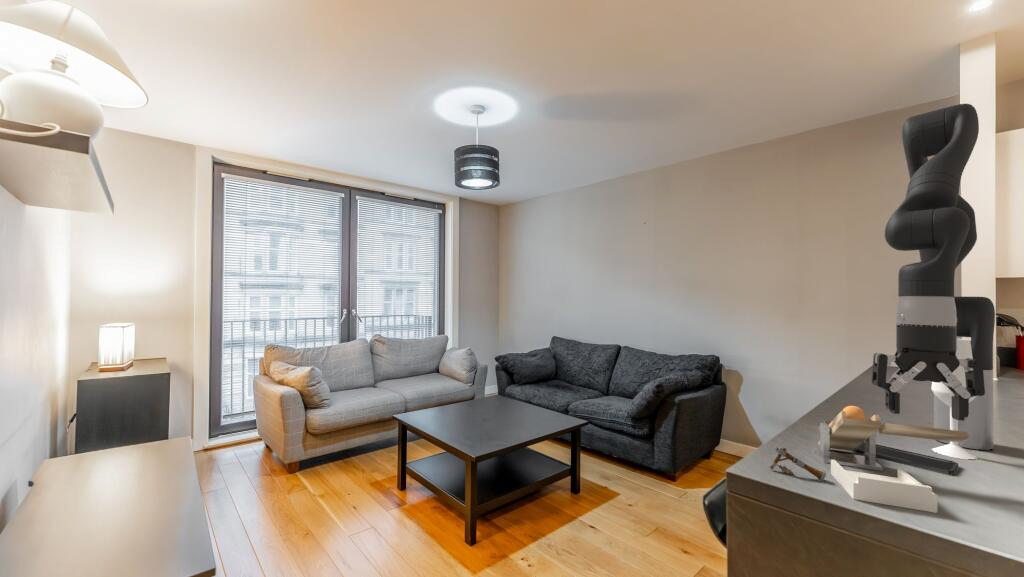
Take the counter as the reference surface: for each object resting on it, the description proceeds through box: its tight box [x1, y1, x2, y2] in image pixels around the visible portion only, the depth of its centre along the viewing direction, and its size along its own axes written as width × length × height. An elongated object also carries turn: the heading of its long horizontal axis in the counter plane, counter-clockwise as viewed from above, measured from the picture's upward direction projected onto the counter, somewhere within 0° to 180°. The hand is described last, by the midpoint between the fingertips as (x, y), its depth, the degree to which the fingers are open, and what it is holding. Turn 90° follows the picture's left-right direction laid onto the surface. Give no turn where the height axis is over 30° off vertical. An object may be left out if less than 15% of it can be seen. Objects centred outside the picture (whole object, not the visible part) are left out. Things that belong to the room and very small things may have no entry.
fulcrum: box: [814, 422, 884, 472], centre depth 82 cm, size 6×9×7 cm, turn 68°
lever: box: [817, 410, 969, 452], centre depth 81 cm, size 17×17×4 cm
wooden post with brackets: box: [769, 446, 828, 483], centre depth 75 cm, size 2×8×4 cm, turn 57°
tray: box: [830, 460, 938, 514], centre depth 69 cm, size 11×10×4 cm
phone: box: [851, 441, 959, 476], centre depth 84 cm, size 8×1×15 cm
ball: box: [842, 405, 867, 420], centre depth 79 cm, size 4×4×4 cm
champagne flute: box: [931, 338, 977, 460], centre depth 88 cm, size 7×7×24 cm
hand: (925, 416), depth 73 cm, fingers open, 8 cm apart
